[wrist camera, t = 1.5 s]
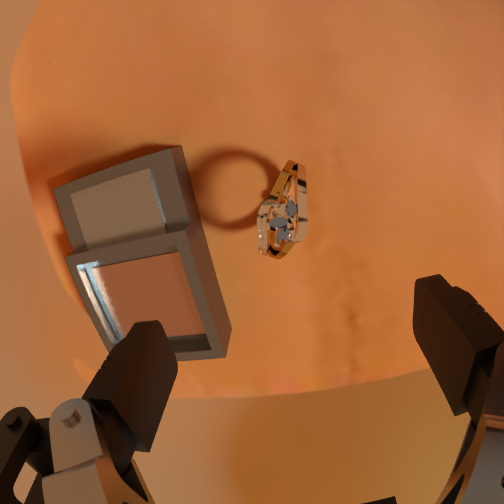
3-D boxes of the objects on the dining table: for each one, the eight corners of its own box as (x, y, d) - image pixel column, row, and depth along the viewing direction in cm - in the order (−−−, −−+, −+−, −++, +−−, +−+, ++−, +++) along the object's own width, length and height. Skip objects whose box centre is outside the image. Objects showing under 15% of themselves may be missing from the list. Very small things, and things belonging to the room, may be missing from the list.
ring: (277, 151, 24) (280, 161, 17) (314, 166, 24) (332, 183, 17) (246, 227, 27) (236, 267, 19) (281, 241, 27) (284, 285, 20)
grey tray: (70, 182, 26) (43, 193, 22) (181, 145, 24) (163, 149, 20) (129, 337, 33) (114, 363, 28) (231, 328, 31) (225, 357, 27)
